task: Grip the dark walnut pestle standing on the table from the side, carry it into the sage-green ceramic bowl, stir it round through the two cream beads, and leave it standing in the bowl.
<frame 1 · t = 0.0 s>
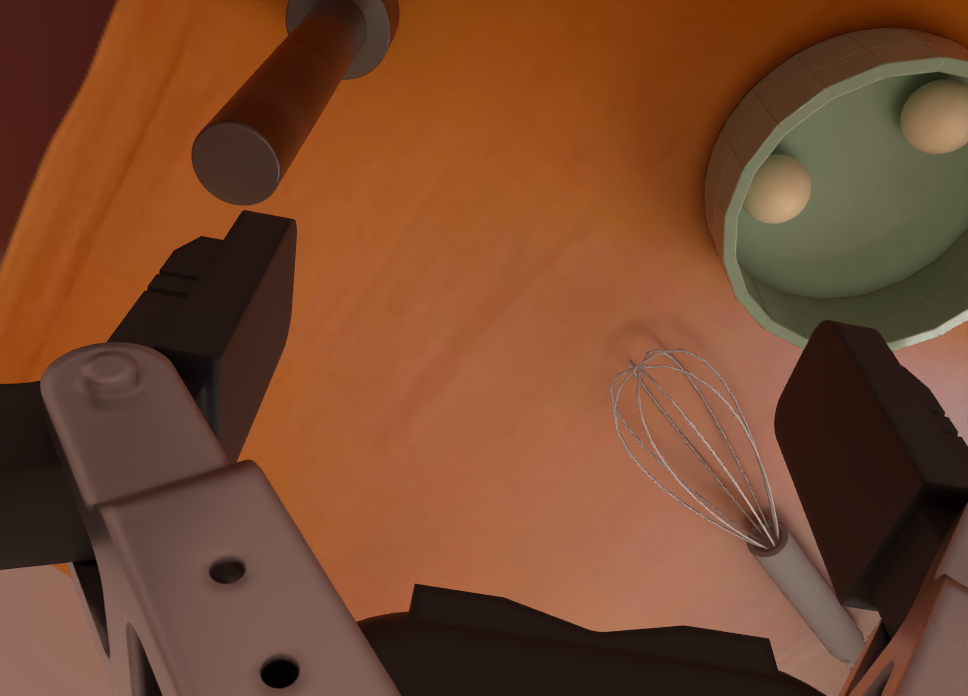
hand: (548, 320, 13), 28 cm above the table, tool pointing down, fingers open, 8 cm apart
bowl: (850, 178, 41), on the table
bead b: (774, 189, 39), point 2 cm above the table, touching bowl
pestle: (350, 10, 37), on the table
kitchen whisk: (760, 501, 53), on the table
bead a: (940, 116, 36), point 2 cm above the table, touching bowl
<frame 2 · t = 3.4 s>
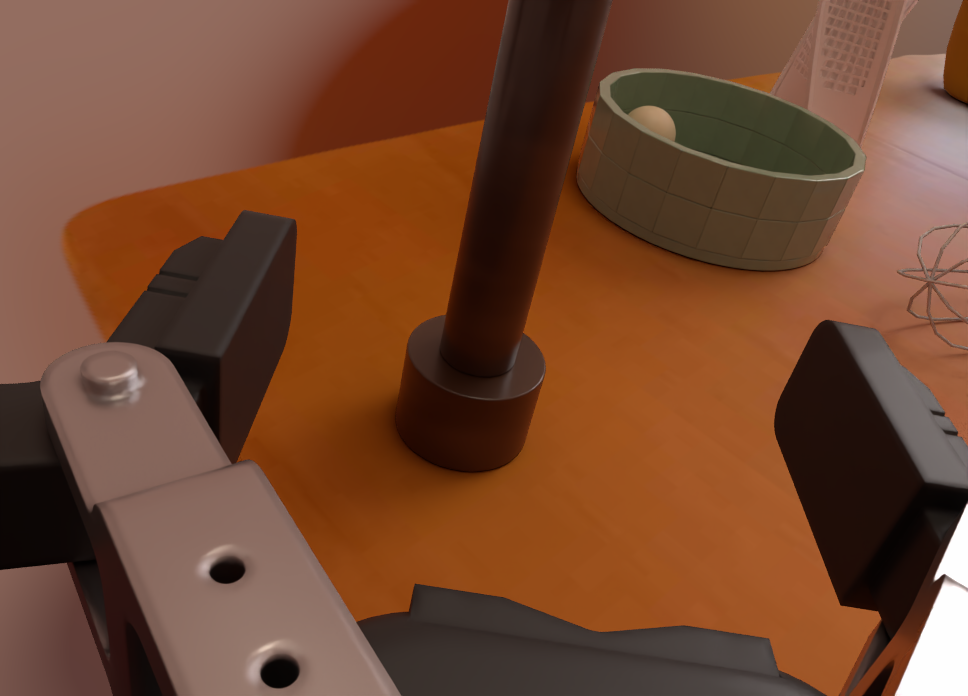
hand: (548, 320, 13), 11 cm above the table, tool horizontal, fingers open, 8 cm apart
skyscraper: (798, 148, 58), on the table
bowl: (698, 203, 46), on the table
pestle: (460, 424, 28), on the table
bead a: (647, 134, 47), point 2 cm above the table, touching bowl
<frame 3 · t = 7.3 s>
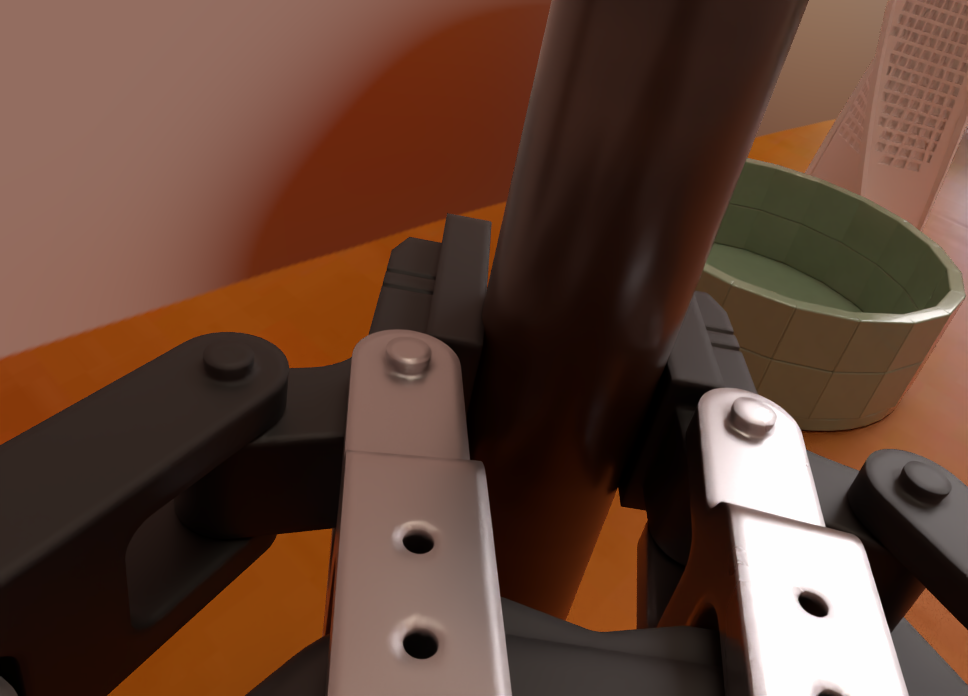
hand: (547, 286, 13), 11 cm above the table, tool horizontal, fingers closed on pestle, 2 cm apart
skyscraper: (843, 229, 48), on the table
bowl: (740, 323, 36), on the table
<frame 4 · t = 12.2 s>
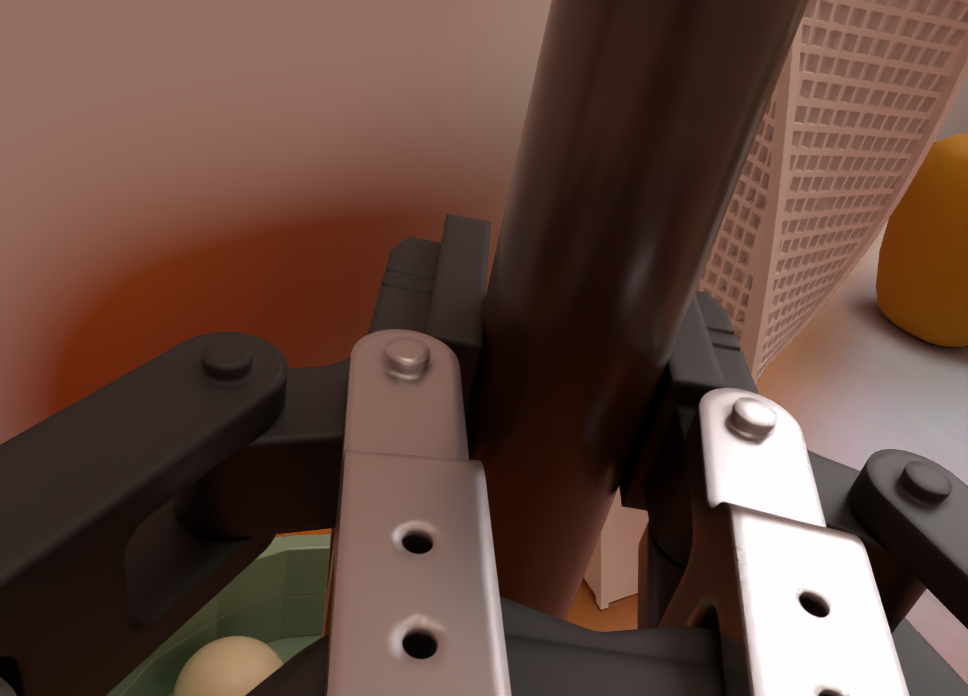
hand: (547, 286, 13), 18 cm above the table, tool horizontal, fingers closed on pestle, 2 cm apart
apple: (923, 326, 56), on the table
skyscraper: (611, 538, 35), on the table
bead a: (232, 695, 24), point 2 cm above the table, touching bowl
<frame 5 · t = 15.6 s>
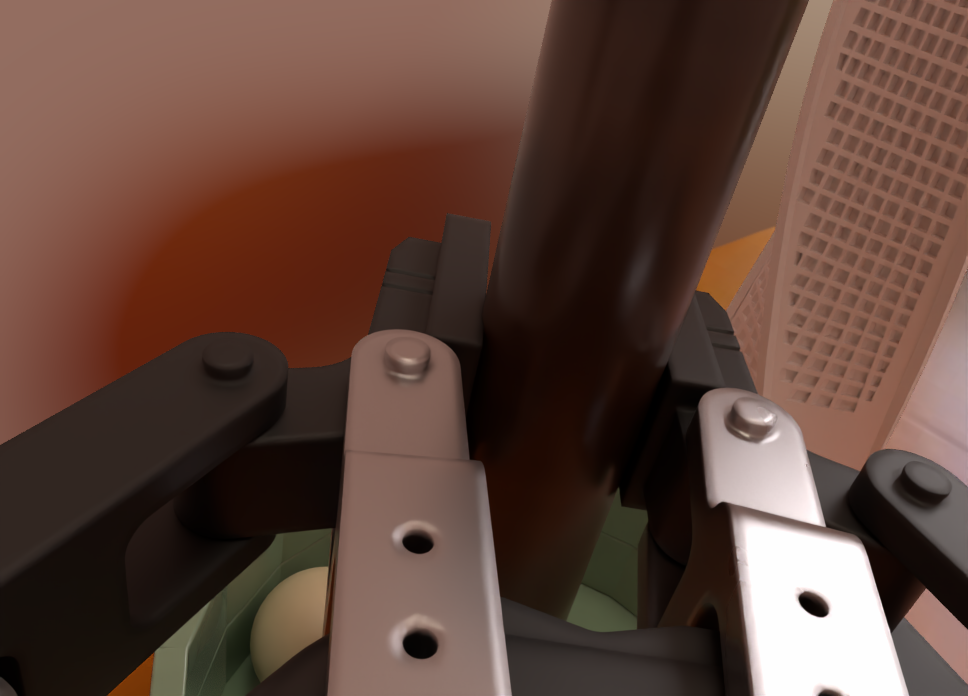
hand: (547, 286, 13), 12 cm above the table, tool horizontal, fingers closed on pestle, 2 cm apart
skyscraper: (747, 466, 31), on the table
bead a: (321, 638, 19), point 2 cm above the table, tilted 13°, touching bowl
when the fingers open (12 cm above the table, at t = 17.2 s): pestle stays where it is, resting on bowl.
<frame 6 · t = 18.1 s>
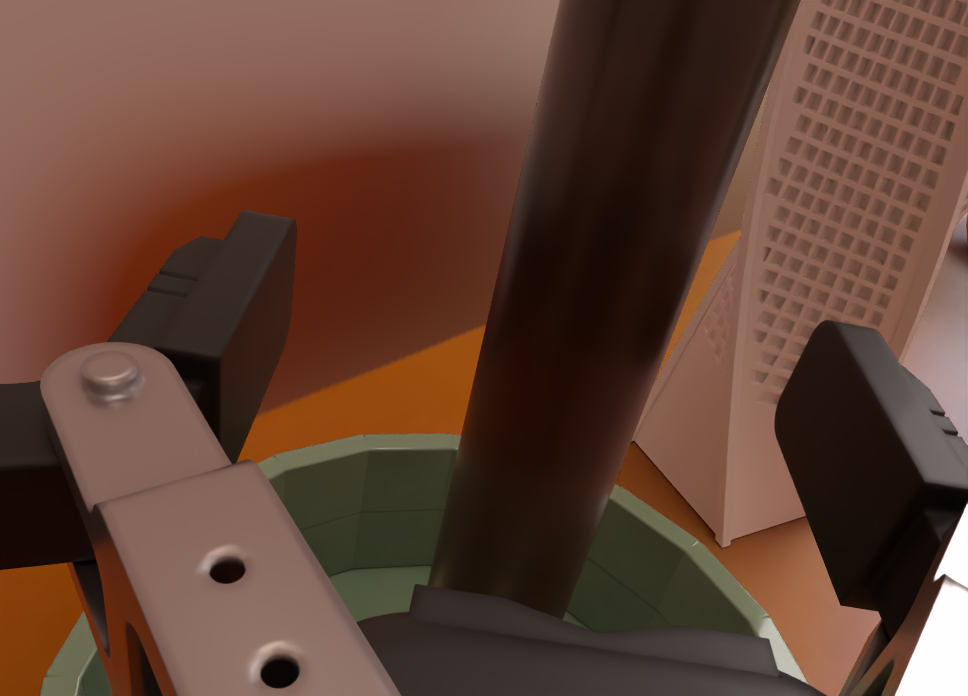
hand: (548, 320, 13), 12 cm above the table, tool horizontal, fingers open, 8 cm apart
skyscraper: (720, 472, 30), on the table
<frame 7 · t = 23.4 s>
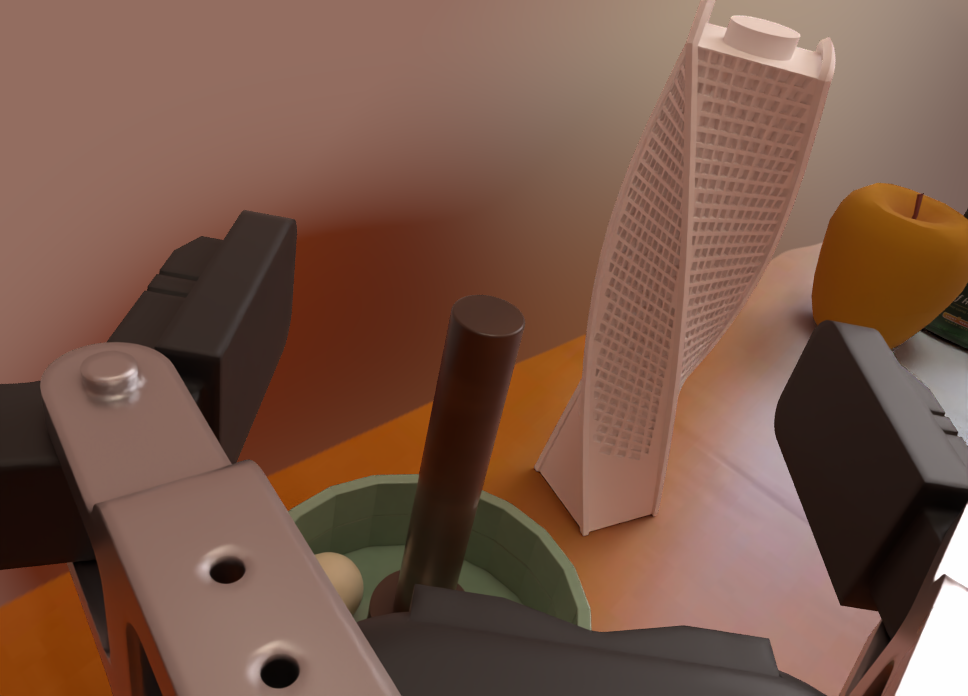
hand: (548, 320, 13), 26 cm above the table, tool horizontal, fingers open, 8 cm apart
apple: (850, 336, 70), on the table
skyscraper: (592, 490, 48), on the table
bowl: (405, 670, 36), on the table
pestle: (411, 650, 37), point 1 cm above the table, touching bowl
coffee jar: (954, 331, 74), on the table
bead a: (326, 589, 36), point 2 cm above the table, tilted 14°, touching bowl
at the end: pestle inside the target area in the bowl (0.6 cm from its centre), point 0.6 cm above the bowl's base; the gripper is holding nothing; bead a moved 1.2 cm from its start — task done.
